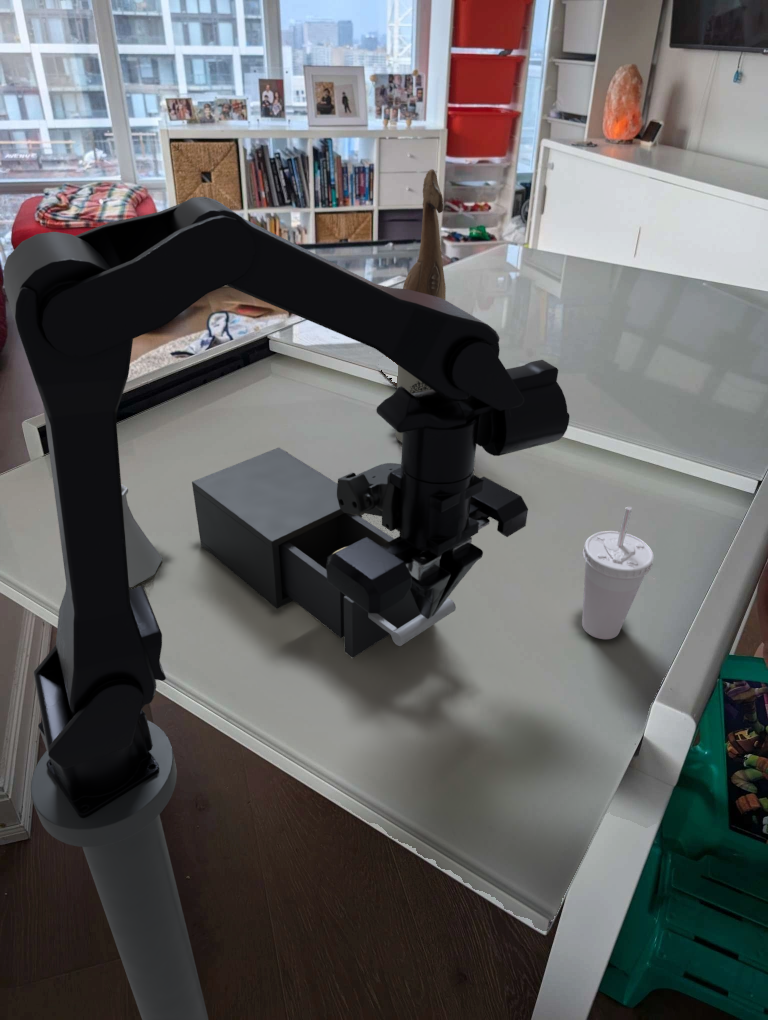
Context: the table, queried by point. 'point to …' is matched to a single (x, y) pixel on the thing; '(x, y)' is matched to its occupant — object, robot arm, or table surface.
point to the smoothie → (612, 578)
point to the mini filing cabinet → (261, 515)
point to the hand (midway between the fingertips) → (426, 614)
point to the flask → (138, 548)
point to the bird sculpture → (429, 245)
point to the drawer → (330, 606)
